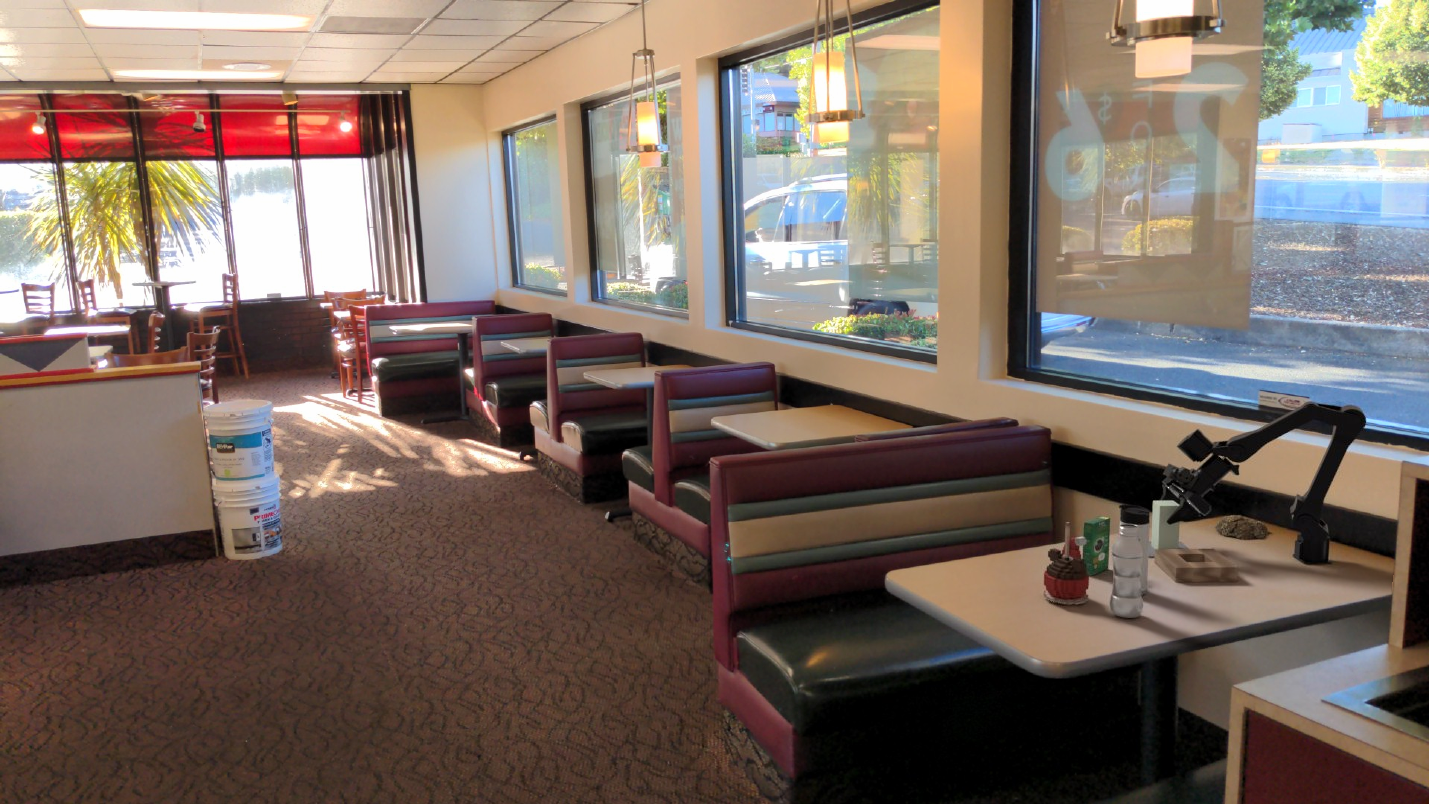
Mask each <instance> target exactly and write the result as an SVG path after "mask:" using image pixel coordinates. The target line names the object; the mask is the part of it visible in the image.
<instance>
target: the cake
mask: <svg viewBox="0 0 1429 804" xmlns="http://www.w3.org/2000/svg"><path fill="white" fill-rule="evenodd" d="M1070 532H1071V522H1069V521H1068V522H1067V521H1066V522H1065V531H1064V533H1065V534H1064V546H1063V547H1062V550H1060V549H1058V548H1055V547H1054V548H1050V549H1049V550H1048V551H1047V557H1048V558H1049V561H1051V563H1049V564H1048V565H1047V566H1046V570H1044V573H1043V586H1045V590H1044V591H1043V597H1044V598H1046V599H1045V600H1047V599H1048V600H1047V601H1049V600H1051V601H1050V602H1052V601H1053V602H1052V603H1057V602H1058V604H1059V603H1062V604H1063V603H1064V604H1063V605H1073V604H1074V605H1081V604H1086V602H1088V601H1089V594H1087V590H1089V586H1090V576H1089V575H1088V574H1087V570H1086V563H1085V562H1084V559H1082V554H1081V550H1080V549H1081V547H1083V545H1085V544H1086V539H1085V537H1083V536H1075V537H1072V538H1070V536H1071V535H1070V534H1071V533H1070Z"/></svg>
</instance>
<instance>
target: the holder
mask: <svg viewBox="0 0 1429 804" xmlns="http://www.w3.org/2000/svg"><path fill="white" fill-rule="evenodd" d="M1154 564H1155V565H1156V566H1157V567H1158V568H1159V569H1160V570H1161V571H1162V572H1164V573H1165V574H1166V575H1167V574H1168V575H1167V576H1168V577H1169V578H1170V577H1171V578H1170V579H1171V580H1172V581H1174V582H1175V583H1215V582H1216V583H1221V582H1222V583H1227V582H1228V583H1229V582H1233V583H1235V582H1238V580H1239V579H1238V577H1239V575H1238V574H1239V567H1238V565H1236V564H1234V563H1233V562H1232V561H1230V560H1229V559H1228V558H1226V557H1225V556H1224V555H1223V554H1222V553H1220V552H1219V551H1217V550H1216V549H1215V548H1189V549H1155V558H1154Z"/></svg>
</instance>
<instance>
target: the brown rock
mask: <svg viewBox="0 0 1429 804" xmlns="http://www.w3.org/2000/svg"><path fill="white" fill-rule="evenodd" d="M1215 531H1216V532H1217V533H1218V534H1219V535H1220V536H1223V537H1234V538H1237V539H1238V540H1244V541H1248V540H1249V541H1251V540H1254V539H1256V540H1258V539H1263V538H1265V536H1266V535H1267V534H1266V533H1268V534H1269V532H1268V528H1267V525H1266V524H1264V523H1263V522H1262V521H1259V520H1255V519H1253V518H1252V519H1251V518H1250V517H1246V516H1242V514H1239V515H1235V514H1233V515H1226V516H1223V517H1221V518H1220V520H1218V521H1217V522H1216V525H1215ZM1250 539H1251V540H1250Z"/></svg>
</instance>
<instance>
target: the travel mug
mask: <svg viewBox="0 0 1429 804" xmlns="http://www.w3.org/2000/svg"><path fill="white" fill-rule="evenodd" d="M1118 508H1119V509H1120V511H1119V512H1120V513H1119V514H1120V515H1119V516H1120V517H1119V526H1120V525H1121V524H1133V525H1137V526H1138V533H1139V535H1138V536H1137V538H1138V540H1139V541H1140V542H1141V544H1142V546H1143V548H1144V558H1143V563H1142V570H1141V595H1142V596H1144V595H1143V594H1145V595H1146V594H1147V593H1148V575H1149V558H1148V553H1149V542H1150V523H1151V522H1150V521H1151V520H1150V518H1151V517H1150V516H1151V515H1150V513H1151V512H1150V510H1149V509H1147V508H1146V507H1143V506H1140V505H1135V504H1134V505H1133V504H1126V503H1122V504H1119V505H1118ZM1118 535H1119V534H1118ZM1119 537H1120V535H1119V536H1118V538H1119Z"/></svg>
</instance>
